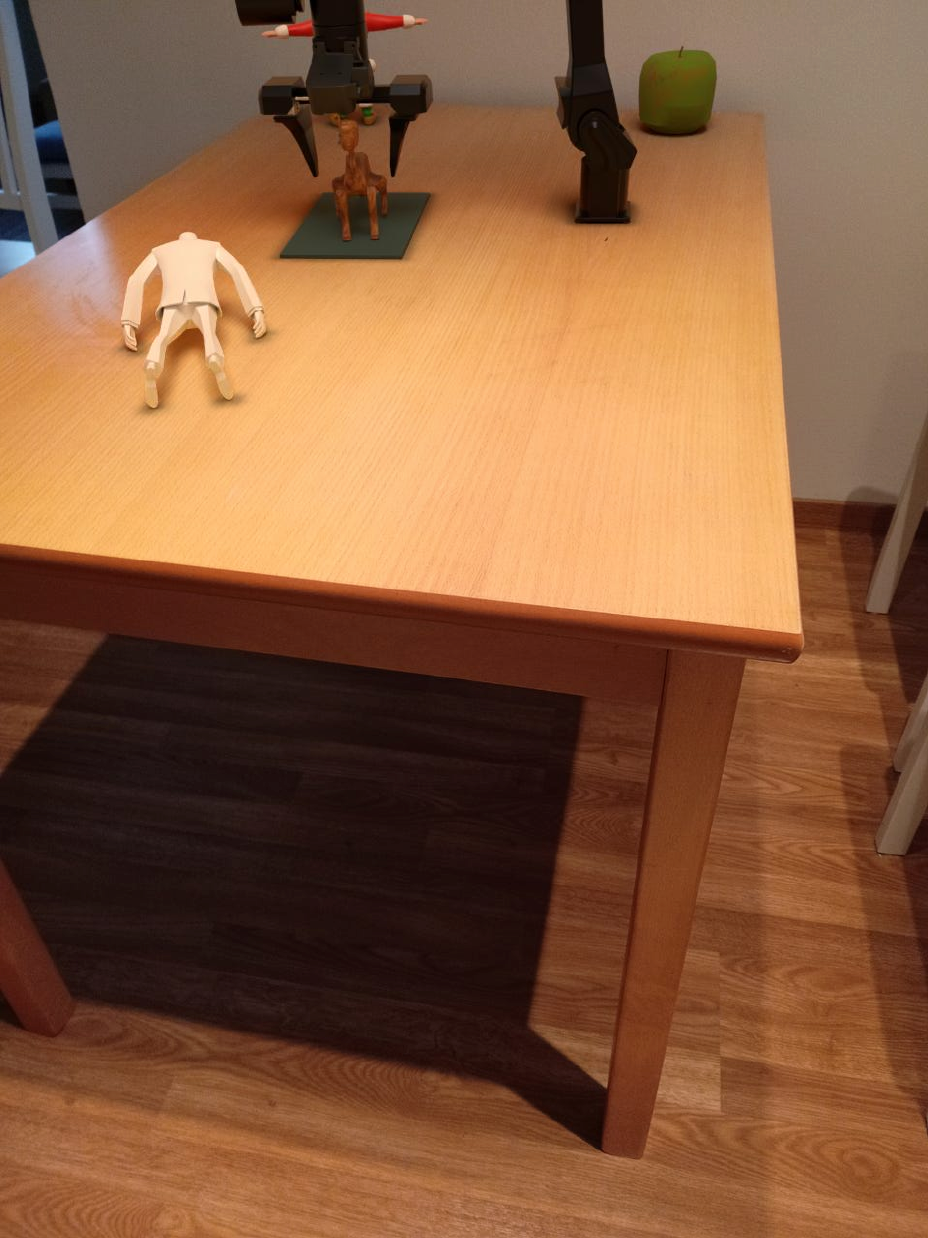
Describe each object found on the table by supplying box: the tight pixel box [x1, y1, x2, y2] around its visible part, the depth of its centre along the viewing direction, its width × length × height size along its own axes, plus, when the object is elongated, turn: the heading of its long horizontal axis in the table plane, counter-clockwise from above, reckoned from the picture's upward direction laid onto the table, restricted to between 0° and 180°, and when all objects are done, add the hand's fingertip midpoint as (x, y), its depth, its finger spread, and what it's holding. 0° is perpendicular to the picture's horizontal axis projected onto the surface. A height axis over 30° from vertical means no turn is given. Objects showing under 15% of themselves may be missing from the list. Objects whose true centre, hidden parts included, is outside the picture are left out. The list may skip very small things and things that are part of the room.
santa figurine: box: [260, 11, 429, 128], centre depth 148 cm, size 25×6×19 cm, turn 103°
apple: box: [638, 45, 718, 135], centre depth 142 cm, size 11×11×11 cm
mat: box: [279, 192, 431, 260], centre depth 118 cm, size 22×14×1 cm, turn 173°
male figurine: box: [120, 231, 267, 409], centre depth 92 cm, size 14×6×25 cm
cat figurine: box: [331, 114, 388, 241], centre depth 113 cm, size 18×7×14 cm, turn 3°
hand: (354, 176), depth 114 cm, fingers open, 9 cm apart
